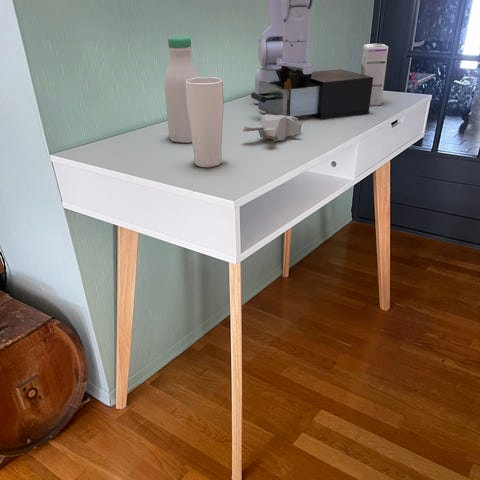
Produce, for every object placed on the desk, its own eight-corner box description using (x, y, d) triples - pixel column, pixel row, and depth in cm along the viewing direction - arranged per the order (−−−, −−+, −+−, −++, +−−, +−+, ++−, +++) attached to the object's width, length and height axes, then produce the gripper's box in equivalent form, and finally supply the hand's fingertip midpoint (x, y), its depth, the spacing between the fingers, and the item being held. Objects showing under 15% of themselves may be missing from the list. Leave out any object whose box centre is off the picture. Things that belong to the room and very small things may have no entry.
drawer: (267, 121, 121) (268, 91, 117) (244, 110, 131) (244, 82, 127) (329, 114, 127) (331, 84, 123) (302, 103, 137) (304, 76, 133)
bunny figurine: (311, 115, 112) (276, 121, 102) (308, 139, 115) (274, 147, 104) (275, 110, 117) (238, 115, 106) (273, 133, 120) (237, 140, 109)
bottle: (281, 108, 128) (282, 71, 123) (286, 104, 131) (287, 68, 127) (298, 109, 127) (300, 72, 122) (302, 105, 130) (304, 69, 125)
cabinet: (320, 119, 126) (323, 82, 121) (292, 107, 137) (294, 73, 132) (368, 113, 131) (373, 77, 126) (337, 102, 142) (340, 69, 137)
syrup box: (381, 105, 138) (390, 45, 130) (360, 105, 138) (367, 46, 130) (377, 101, 143) (385, 43, 135) (356, 101, 143) (363, 43, 135)
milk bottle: (198, 144, 109) (192, 39, 98) (164, 142, 111) (154, 39, 99) (207, 134, 115) (202, 35, 104) (175, 133, 117) (167, 35, 105)
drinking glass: (225, 158, 101) (223, 76, 92) (225, 169, 95) (223, 83, 87) (191, 159, 101) (186, 77, 92) (189, 170, 95) (183, 84, 87)
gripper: (266, 38, 125) (265, 97, 132) (295, 44, 114) (292, 108, 121) (291, 37, 127) (289, 94, 135) (321, 43, 116) (317, 105, 124)
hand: (292, 101), depth 128 cm, fingers closed on bottle, 4 cm apart
